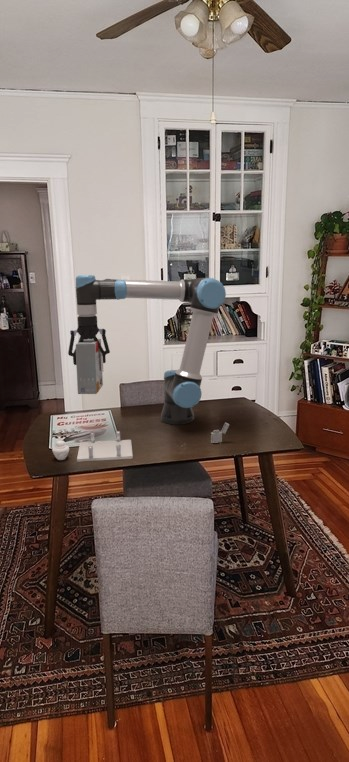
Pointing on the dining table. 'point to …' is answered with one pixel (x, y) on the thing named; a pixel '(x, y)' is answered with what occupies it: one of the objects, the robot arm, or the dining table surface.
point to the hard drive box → (88, 367)
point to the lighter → (218, 434)
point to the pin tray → (105, 449)
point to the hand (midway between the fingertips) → (90, 371)
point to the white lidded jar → (60, 450)
